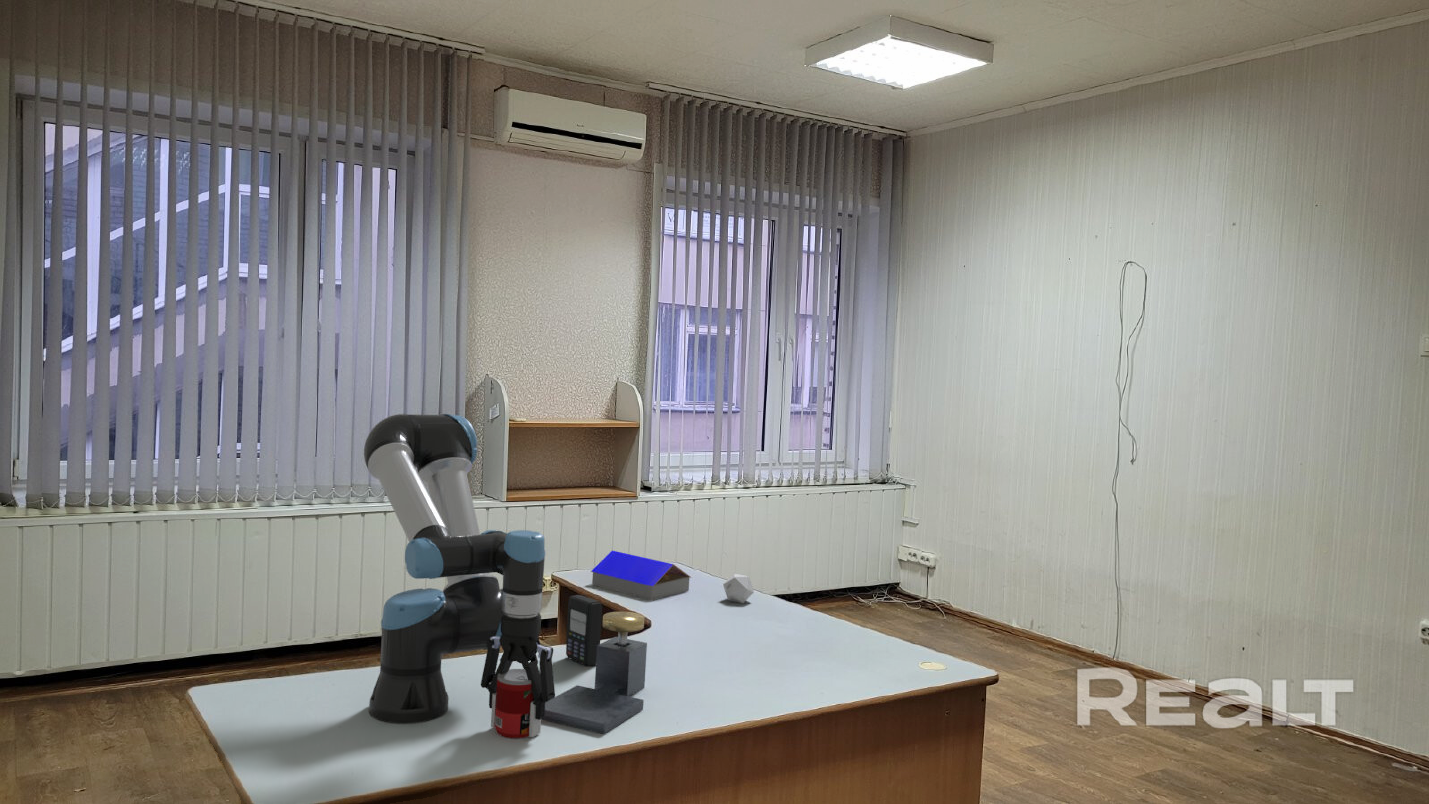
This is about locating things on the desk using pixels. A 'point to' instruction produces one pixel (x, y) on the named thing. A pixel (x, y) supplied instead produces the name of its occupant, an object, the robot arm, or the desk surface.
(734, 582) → the die
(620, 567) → the house
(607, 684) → the grey stepped stand
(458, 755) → the desk surface
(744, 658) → the desk surface
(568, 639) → the card reader
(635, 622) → the door knob
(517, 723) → the canned food
